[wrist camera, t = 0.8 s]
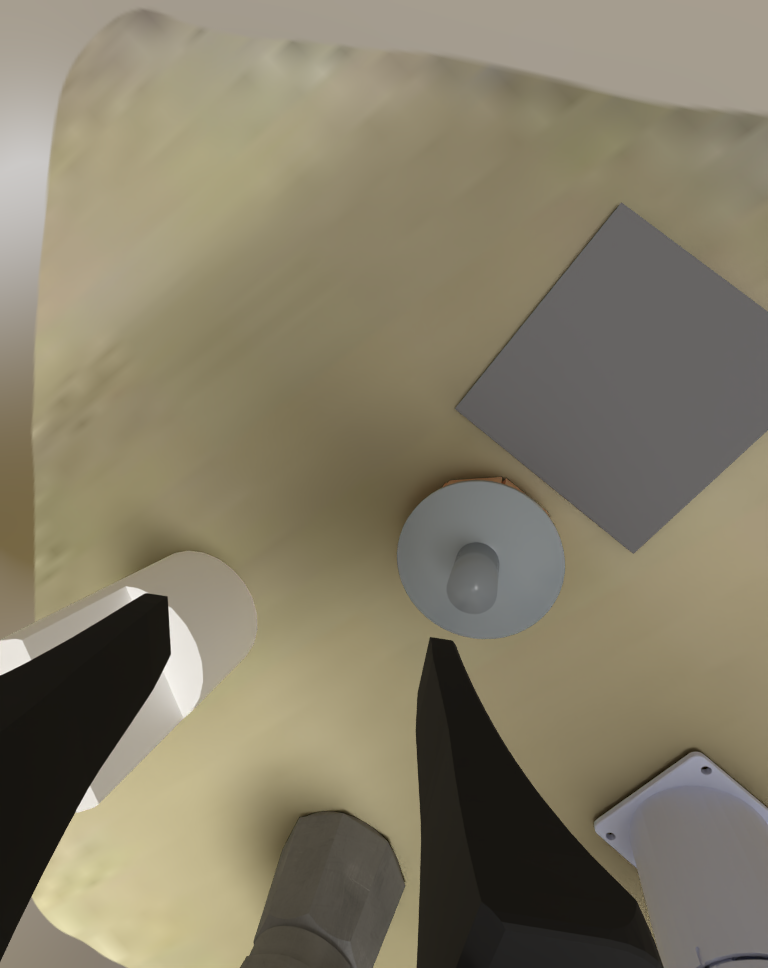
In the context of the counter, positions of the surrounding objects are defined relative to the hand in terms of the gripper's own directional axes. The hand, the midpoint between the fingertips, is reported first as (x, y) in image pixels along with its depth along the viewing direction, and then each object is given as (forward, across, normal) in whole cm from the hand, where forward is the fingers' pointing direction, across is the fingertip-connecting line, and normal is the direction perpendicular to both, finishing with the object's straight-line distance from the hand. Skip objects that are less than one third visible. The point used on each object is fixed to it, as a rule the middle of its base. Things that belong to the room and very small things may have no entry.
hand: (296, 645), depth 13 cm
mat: (+15, -13, -6) cm, 20 cm away
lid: (+12, -7, +3) cm, 14 cm away
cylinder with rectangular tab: (+16, +10, +14) cm, 24 cm away
